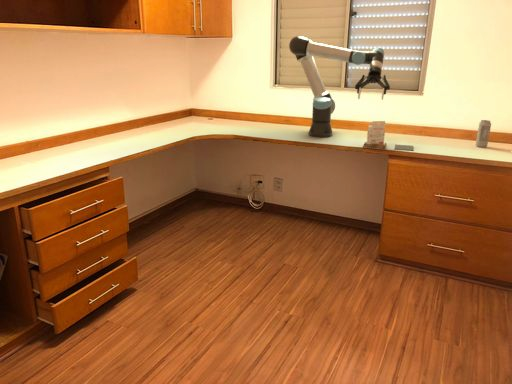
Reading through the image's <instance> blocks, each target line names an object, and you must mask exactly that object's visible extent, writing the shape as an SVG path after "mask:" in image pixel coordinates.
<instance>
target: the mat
mask: <svg viewBox="0 0 512 384" xmlns="http://www.w3.org/2000/svg"><path fill="white" fill-rule="evenodd" d="M393 149H394V150H395V151H396V150H397V151H399V150H400V151H411V152H414V145H410V144H409V145H408V144H407V145H406V144H396V143H395V144H394V148H393Z"/></svg>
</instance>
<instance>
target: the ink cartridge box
mask: <svg viewBox="0 0 512 384" xmlns="http://www.w3.org/2000/svg"><path fill="white" fill-rule="evenodd" d="M385 134H386V120H376V121H372V122H371V125H367V136H366V142H367V143H372V144H385V136H386V135H385Z"/></svg>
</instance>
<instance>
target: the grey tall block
mask: <svg viewBox="0 0 512 384" xmlns="http://www.w3.org/2000/svg"><path fill="white" fill-rule="evenodd" d="M491 122H492V121H491V120H489V119H481V120H480V121H479V123H478V128H477V135H476V141H475V147H478V148H482V149H483V148H487V147H488V146H489V145H488V144H489V137H490V132H491V126H492V123H491Z"/></svg>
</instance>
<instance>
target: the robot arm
mask: <svg viewBox="0 0 512 384" xmlns="http://www.w3.org/2000/svg"><path fill="white" fill-rule="evenodd" d="M288 44H289V45H288V47H289V48H288V49H289V51H290V53H291V54H293V55H294V56H295V59H296V60H297V62H300V65H301V67H302V69H303V72H304V75H305V78H306V80H307V81H308V84H309V88H310V89H311V92H312V94H313V100H312V101H313V102H312V113H311V114H312V117H311V125H310V128H309V131H308V135H309V136H310V137H316V138H328V137H332V136H333V129H332V124H331V117H332V116H331V115H332V114H333V113H334V111H335V109H336V102H335V100H334V99H333V98H332V96H331V94H330V91H327V89H326V86H325V85H324V81H323V79H322V77H321V74H320V72H319V69H318V66H317V64H316V61H315V58H314V57H318V58H319V57H320V58H324V59H328V60H329V59H330V60H334V61H340V62H344V63H350V64H354V65H358V66H359V65H369V66H368V68H369V69H368V73H367V76H366V75H365V74H363V75H362V76H361V78H360V79H359V80H358V81H357V83H356V84H355V85H354V88H355V89H354V90H357V92H356V94H357V99H358V100H360V98H361V93H362V89H363V88H365V86H367V85H369V84H378V85H379V86H380V87H381V88H382V92H381V100H384V95H386V94H387V91H390V89H391V85H390V83H389V82H388V80H387V78H386V76H387V75H386V74H384V75H383V76H382V70H383V63H384V59H385V57H384V56H385V51H384V49H383V48H380V47H376V48H374V49H372V51H361V50H354V49H349V48H345V47H339V46H334V45H330V44H329V45H328V44H325V43H317V42H313V41H312V40H311V39H309V37H306V36H303V35H296V36H294V37H292V38H291V39H290V42H289V43H288Z"/></svg>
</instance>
